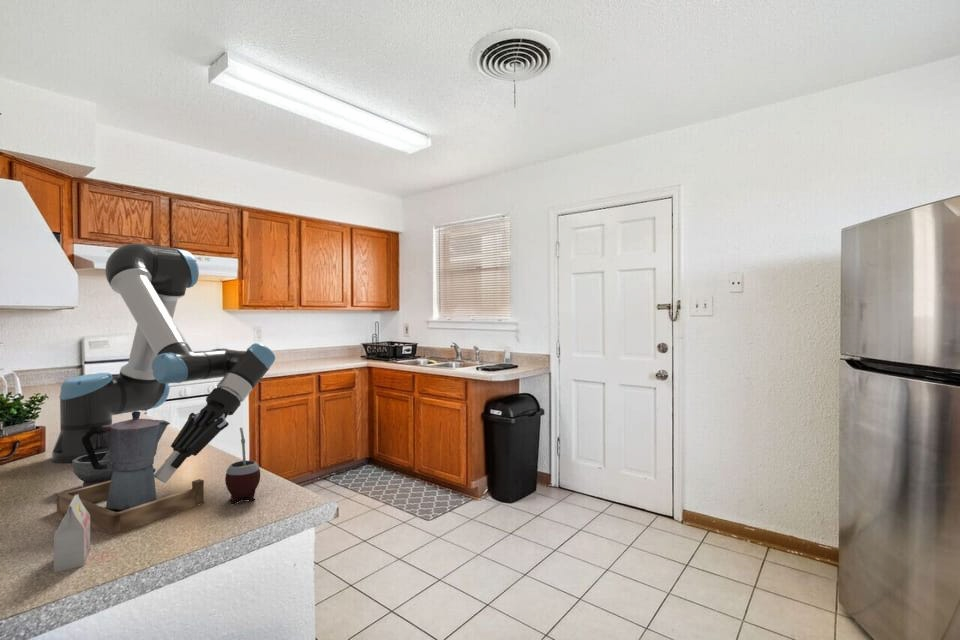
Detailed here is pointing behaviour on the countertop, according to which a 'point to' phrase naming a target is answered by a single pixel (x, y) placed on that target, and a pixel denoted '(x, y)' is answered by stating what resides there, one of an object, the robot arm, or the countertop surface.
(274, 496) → the countertop surface
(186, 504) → the bay
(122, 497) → the moka pot
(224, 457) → the countertop surface
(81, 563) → the white paper packet
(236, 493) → the mate gourd
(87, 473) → the mortar and pestle
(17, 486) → the countertop surface
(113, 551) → the countertop surface
